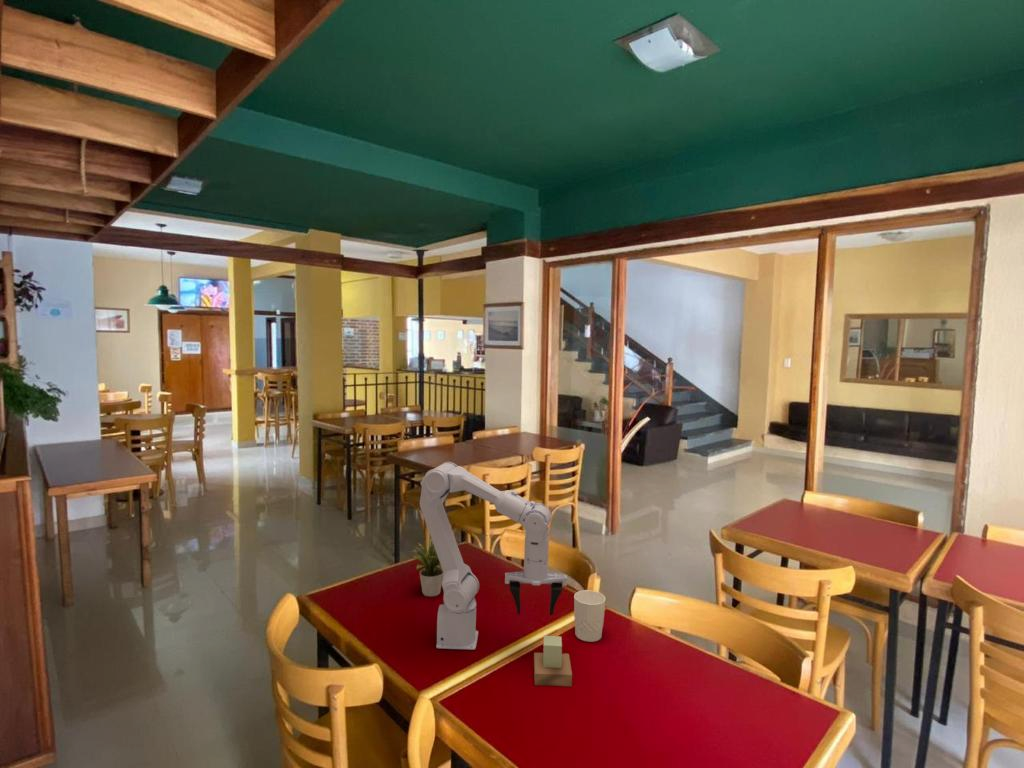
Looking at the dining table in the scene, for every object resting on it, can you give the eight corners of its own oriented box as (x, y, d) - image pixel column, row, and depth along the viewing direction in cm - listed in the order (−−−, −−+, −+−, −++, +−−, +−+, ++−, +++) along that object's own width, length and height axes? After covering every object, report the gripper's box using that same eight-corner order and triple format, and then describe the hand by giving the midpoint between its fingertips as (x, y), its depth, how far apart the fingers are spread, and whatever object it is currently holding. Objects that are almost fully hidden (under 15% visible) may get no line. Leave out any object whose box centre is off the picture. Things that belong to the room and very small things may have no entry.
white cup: (603, 645, 131) (605, 606, 130) (571, 641, 133) (572, 602, 132) (604, 629, 139) (605, 591, 138) (574, 625, 140) (575, 588, 140)
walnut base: (534, 687, 115) (535, 673, 115) (533, 665, 123) (534, 652, 123) (571, 688, 115) (572, 674, 115) (568, 666, 123) (568, 653, 123)
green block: (543, 667, 117) (543, 645, 117) (543, 656, 121) (543, 635, 121) (561, 668, 117) (561, 646, 117) (560, 657, 121) (561, 636, 121)
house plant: (433, 610, 146) (434, 553, 145) (395, 598, 153) (396, 542, 152) (463, 590, 158) (464, 537, 157) (427, 580, 165) (427, 528, 164)
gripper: (505, 562, 122) (503, 620, 123) (568, 565, 121) (566, 622, 122) (506, 551, 129) (505, 605, 130) (566, 553, 128) (564, 607, 129)
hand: (534, 612), depth 126 cm, fingers open, 7 cm apart
